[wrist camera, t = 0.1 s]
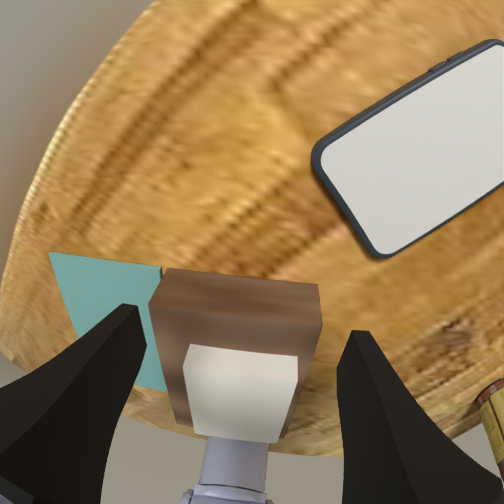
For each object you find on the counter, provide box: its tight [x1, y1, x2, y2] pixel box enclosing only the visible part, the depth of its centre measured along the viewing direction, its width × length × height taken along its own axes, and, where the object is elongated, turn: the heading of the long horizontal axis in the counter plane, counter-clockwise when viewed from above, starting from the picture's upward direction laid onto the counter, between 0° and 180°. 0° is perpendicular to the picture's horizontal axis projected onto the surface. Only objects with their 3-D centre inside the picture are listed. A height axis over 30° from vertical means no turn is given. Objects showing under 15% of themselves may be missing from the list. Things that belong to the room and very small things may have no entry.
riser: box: [148, 268, 323, 438], centre depth 23 cm, size 16×10×4 cm, turn 176°
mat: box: [49, 252, 168, 392], centre depth 25 cm, size 16×10×1 cm, turn 176°
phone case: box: [311, 39, 504, 258], centre depth 15 cm, size 9×2×16 cm
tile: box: [183, 344, 298, 444], centre depth 21 cm, size 10×7×2 cm
